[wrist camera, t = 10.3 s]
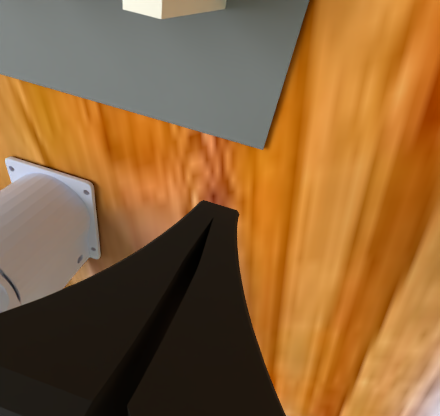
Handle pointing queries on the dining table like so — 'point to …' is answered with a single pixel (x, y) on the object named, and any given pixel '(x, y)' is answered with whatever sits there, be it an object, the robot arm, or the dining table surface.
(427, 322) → the dining table surface
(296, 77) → the dining table surface
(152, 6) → the tile
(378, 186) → the dining table surface
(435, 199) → the dining table surface
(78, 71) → the mat
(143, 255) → the robot arm
